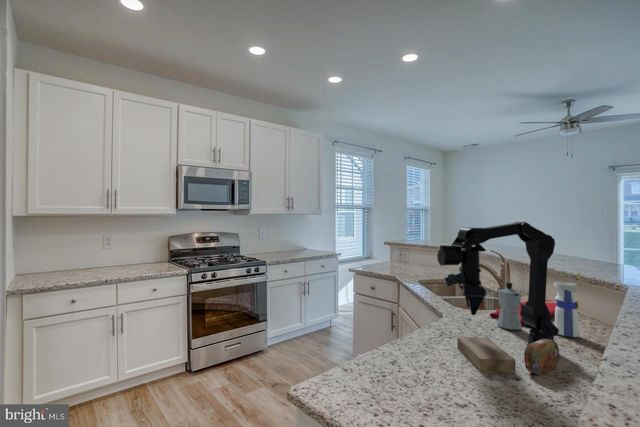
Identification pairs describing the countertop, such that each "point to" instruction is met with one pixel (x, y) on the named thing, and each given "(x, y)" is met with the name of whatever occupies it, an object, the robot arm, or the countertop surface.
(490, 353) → the walnut plinth
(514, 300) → the coffee maker
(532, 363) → the tin
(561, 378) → the countertop surface
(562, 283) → the water bottle
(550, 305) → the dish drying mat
